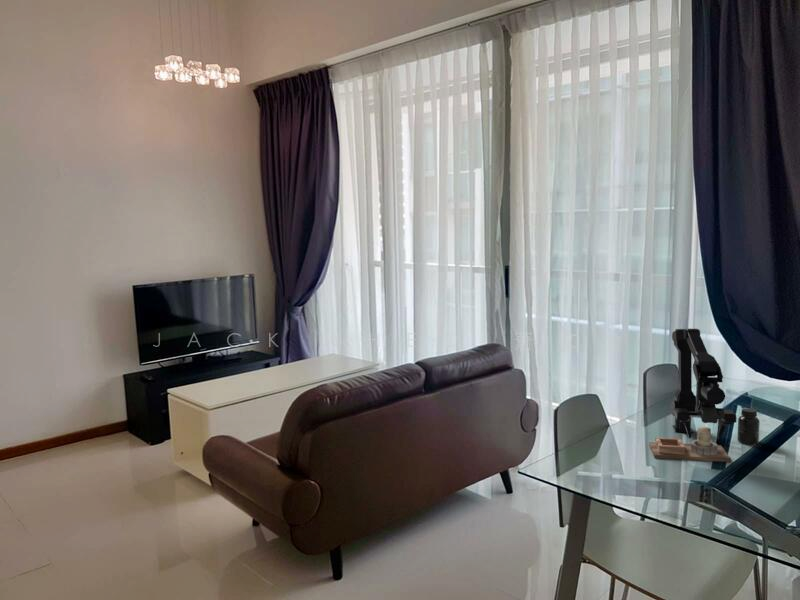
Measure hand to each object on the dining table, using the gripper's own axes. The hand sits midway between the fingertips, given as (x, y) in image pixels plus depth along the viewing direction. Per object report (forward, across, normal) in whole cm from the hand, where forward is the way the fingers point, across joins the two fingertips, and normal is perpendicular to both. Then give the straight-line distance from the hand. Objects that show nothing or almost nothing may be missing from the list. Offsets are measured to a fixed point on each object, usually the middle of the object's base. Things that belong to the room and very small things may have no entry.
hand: (703, 438), depth 214 cm
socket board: (+6, -5, 0) cm, 7 cm away
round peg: (+4, 0, 0) cm, 4 cm away
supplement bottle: (+6, +18, +14) cm, 23 cm away
